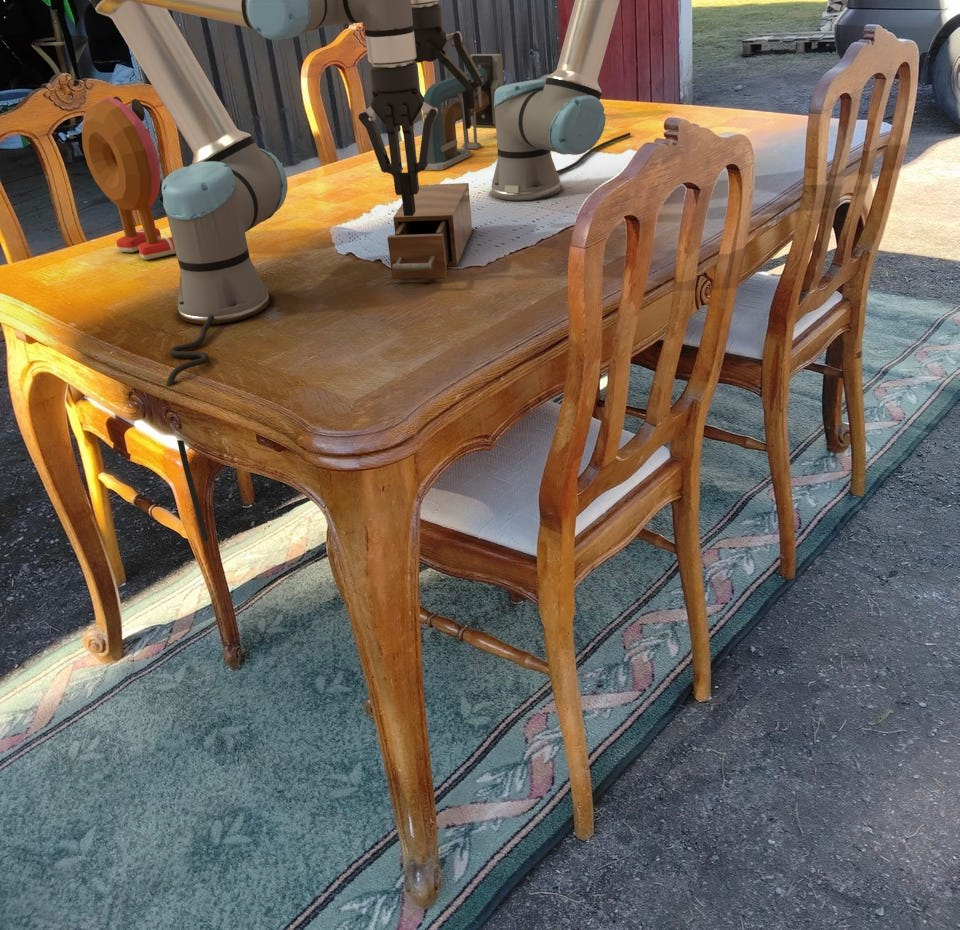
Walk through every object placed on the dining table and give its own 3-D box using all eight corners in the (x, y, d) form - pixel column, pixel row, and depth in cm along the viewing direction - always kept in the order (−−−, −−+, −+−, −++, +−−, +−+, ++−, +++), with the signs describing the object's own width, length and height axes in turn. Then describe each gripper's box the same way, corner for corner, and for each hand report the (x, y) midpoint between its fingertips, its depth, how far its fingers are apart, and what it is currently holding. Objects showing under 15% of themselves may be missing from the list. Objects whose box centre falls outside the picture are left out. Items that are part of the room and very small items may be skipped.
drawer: (441, 288, 164) (437, 245, 161) (386, 289, 166) (381, 246, 162) (462, 241, 186) (458, 201, 182) (413, 242, 187) (408, 203, 183)
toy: (201, 251, 195) (166, 95, 180) (157, 266, 189) (116, 105, 173) (147, 235, 208) (109, 88, 193) (104, 248, 202) (61, 97, 187)
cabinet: (457, 266, 176) (452, 215, 172) (399, 267, 178) (393, 217, 173) (472, 229, 195) (468, 182, 190) (419, 231, 196) (414, 185, 191)
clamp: (441, 170, 238) (433, 78, 227) (411, 168, 242) (401, 78, 231) (506, 137, 263) (501, 53, 253) (478, 136, 267) (472, 53, 257)
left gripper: (438, 56, 152) (451, 205, 164) (357, 61, 154) (376, 208, 166) (430, 64, 146) (444, 218, 158) (346, 69, 148) (367, 221, 160)
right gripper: (492, -4, 171) (500, 120, 182) (355, 7, 175) (372, 128, 186) (487, 1, 165) (496, 130, 176) (345, 13, 169) (363, 137, 179)
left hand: (409, 213), depth 162 cm, fingers closed
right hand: (432, 129), depth 181 cm, fingers open, 13 cm apart
